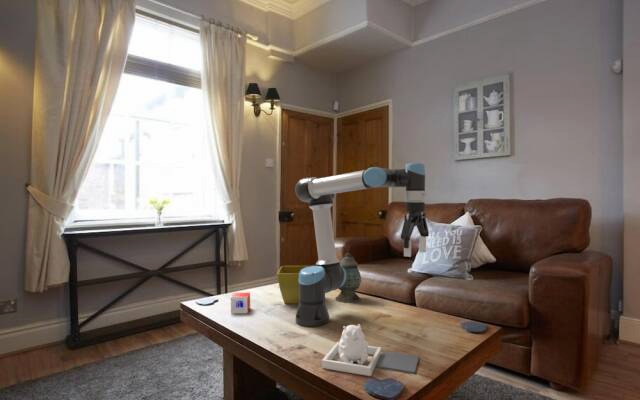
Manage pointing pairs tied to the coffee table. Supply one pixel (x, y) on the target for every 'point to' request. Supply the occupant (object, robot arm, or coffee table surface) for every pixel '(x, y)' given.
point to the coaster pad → (398, 362)
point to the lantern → (349, 280)
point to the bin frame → (350, 367)
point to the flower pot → (289, 283)
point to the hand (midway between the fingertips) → (415, 254)
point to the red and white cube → (240, 303)
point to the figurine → (353, 345)
